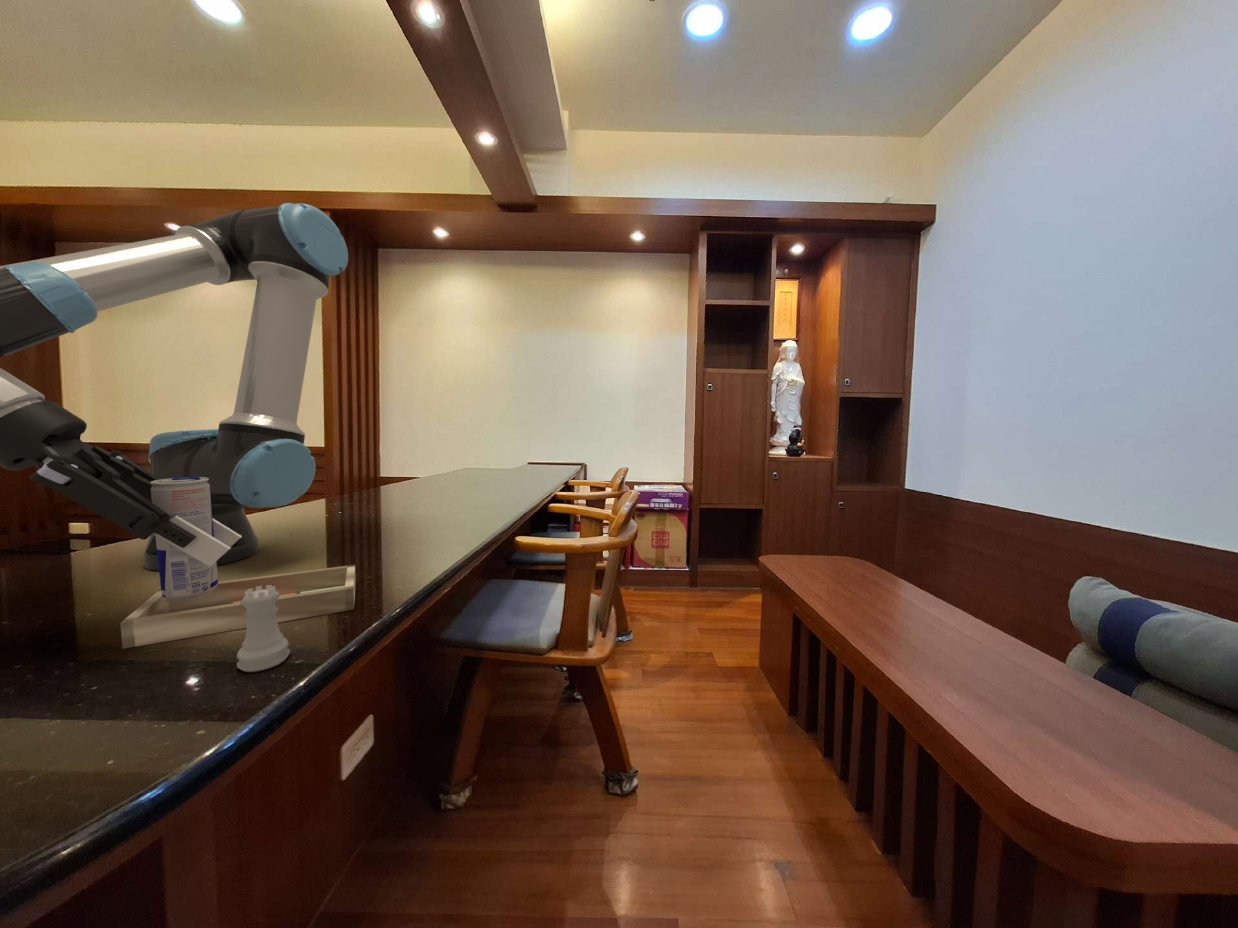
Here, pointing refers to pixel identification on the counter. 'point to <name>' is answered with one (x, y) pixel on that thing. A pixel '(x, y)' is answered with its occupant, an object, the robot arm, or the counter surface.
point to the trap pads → (279, 596)
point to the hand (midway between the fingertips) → (226, 550)
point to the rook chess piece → (261, 632)
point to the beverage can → (176, 567)
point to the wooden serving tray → (239, 605)
